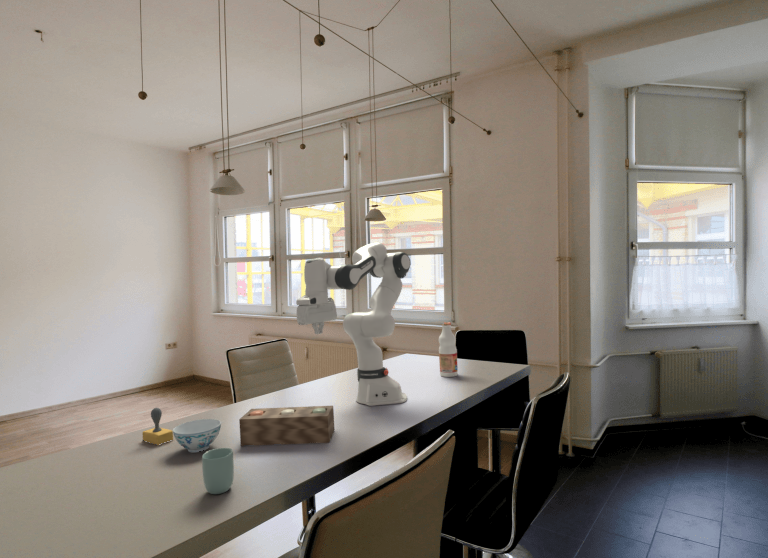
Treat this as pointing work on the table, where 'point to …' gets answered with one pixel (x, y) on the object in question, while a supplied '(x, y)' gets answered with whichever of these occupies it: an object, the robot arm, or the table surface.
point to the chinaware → (197, 434)
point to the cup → (218, 470)
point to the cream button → (287, 411)
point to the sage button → (319, 410)
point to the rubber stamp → (157, 430)
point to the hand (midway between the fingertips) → (318, 333)
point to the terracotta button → (256, 413)
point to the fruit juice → (447, 352)
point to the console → (287, 426)
